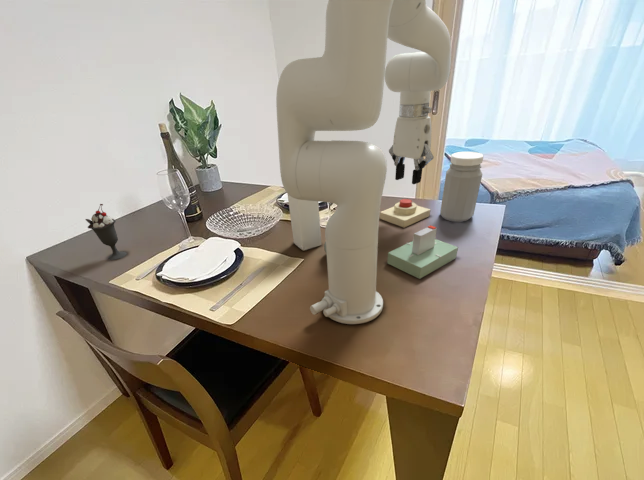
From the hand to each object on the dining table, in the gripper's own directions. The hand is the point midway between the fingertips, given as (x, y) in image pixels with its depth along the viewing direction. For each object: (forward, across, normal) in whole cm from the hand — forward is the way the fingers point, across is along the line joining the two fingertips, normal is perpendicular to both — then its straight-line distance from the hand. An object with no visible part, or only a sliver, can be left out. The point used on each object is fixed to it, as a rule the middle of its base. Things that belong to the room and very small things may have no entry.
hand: (407, 180), depth 97 cm
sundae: (+12, +41, +77) cm, 88 cm away
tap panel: (+11, -21, +18) cm, 30 cm away
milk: (+12, +7, +33) cm, 36 cm away
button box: (+11, 0, 0) cm, 11 cm away
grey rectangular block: (+8, -21, +18) cm, 29 cm away
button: (+8, 0, 0) cm, 8 cm away
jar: (+12, -11, -11) cm, 19 cm away
